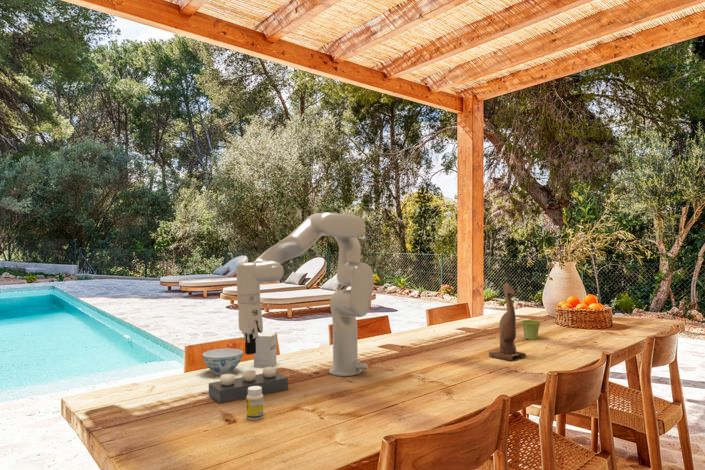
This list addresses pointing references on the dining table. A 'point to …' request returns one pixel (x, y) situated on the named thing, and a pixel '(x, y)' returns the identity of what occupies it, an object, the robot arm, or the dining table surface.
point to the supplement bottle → (254, 403)
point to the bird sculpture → (507, 330)
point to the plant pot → (530, 329)
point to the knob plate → (241, 387)
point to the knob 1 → (227, 379)
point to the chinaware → (222, 360)
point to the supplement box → (265, 350)
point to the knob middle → (248, 375)
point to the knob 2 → (269, 372)
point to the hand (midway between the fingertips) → (250, 353)
